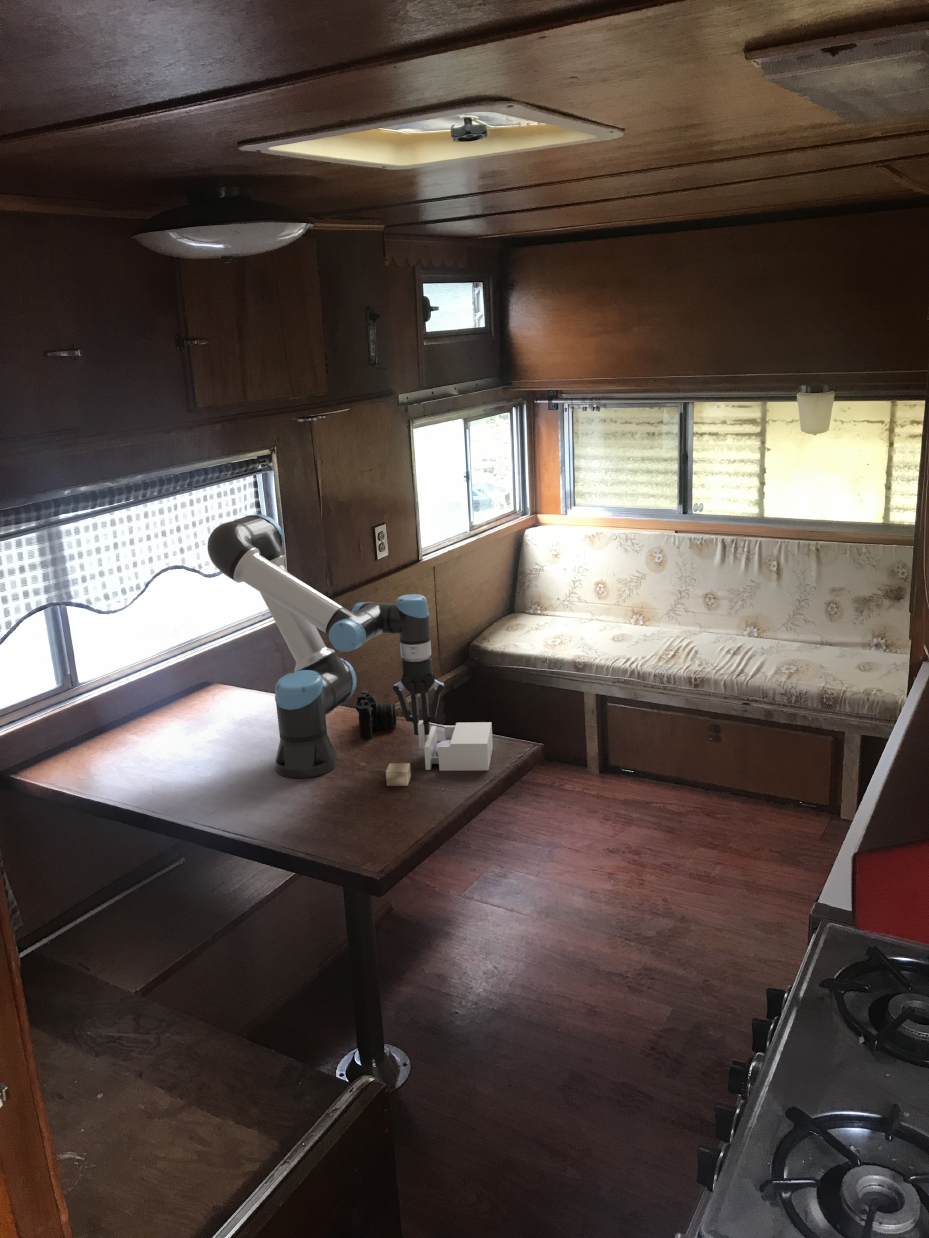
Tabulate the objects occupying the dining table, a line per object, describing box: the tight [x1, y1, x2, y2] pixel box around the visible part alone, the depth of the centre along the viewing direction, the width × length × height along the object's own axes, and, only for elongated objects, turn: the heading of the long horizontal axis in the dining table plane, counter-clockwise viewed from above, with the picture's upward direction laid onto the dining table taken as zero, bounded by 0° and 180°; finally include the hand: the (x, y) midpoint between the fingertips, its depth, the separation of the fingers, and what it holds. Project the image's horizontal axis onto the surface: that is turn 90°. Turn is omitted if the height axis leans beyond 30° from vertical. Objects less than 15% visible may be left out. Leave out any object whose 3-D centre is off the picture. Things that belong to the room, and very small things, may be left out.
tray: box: [423, 725, 445, 771], centre depth 247 cm, size 12×14×6 cm
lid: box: [436, 739, 451, 756], centre depth 247 cm, size 8×8×2 cm
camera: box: [354, 690, 397, 741], centre depth 268 cm, size 14×11×10 cm
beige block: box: [385, 762, 412, 787], centre depth 236 cm, size 5×5×4 cm
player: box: [438, 721, 494, 772], centre depth 246 cm, size 12×14×7 cm
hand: (423, 746), depth 249 cm, fingers closed
